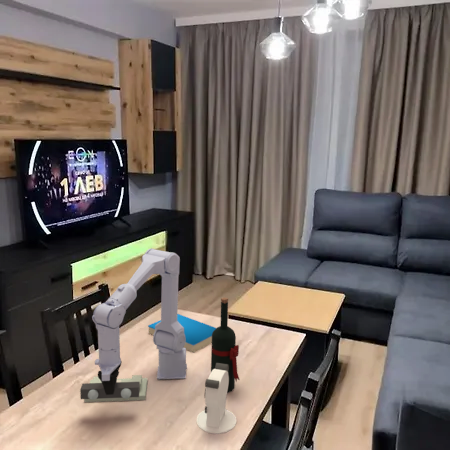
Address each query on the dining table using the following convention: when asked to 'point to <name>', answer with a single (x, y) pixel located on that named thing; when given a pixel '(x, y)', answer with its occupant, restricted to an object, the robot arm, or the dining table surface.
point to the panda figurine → (216, 403)
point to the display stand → (134, 379)
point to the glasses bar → (120, 391)
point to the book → (192, 333)
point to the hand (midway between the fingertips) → (110, 390)
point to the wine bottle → (225, 346)
